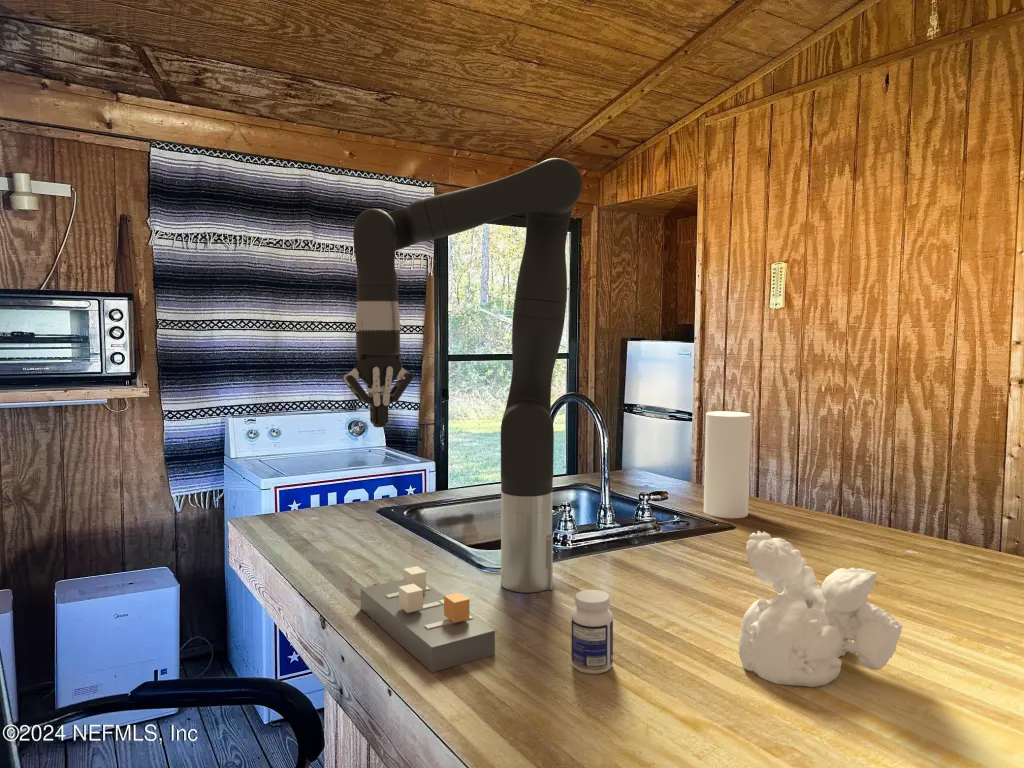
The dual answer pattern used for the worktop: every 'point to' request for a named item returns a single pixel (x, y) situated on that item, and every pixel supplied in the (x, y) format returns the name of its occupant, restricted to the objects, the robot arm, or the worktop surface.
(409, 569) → the switch
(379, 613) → the slider control box
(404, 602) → the switch
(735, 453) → the tall pillar cylinder
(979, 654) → the worktop surface
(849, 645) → the white plaster sculpture
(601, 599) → the pill bottle
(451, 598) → the switch
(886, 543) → the worktop surface
